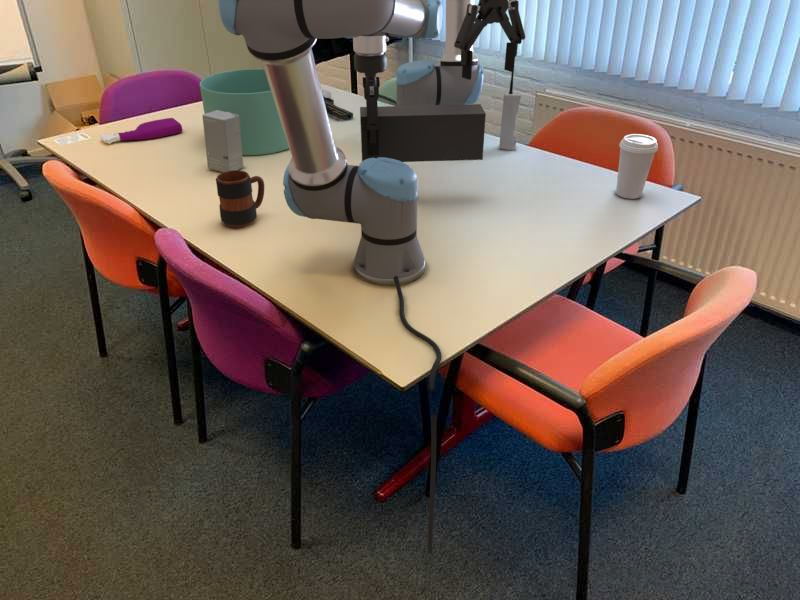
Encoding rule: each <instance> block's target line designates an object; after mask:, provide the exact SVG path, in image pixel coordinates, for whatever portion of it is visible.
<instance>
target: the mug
mask: <svg viewBox="0 0 800 600" xmlns="http://www.w3.org/2000/svg"><path fill="white" fill-rule="evenodd" d="M254 183H257V187H258V188H257V195H256V199H255V201H254V197H253V187H252V186H253V185H252V184H254ZM215 184H216V190H217V191H216V192H217V196H218V198H219V216H220V221H221V223H222V224H223V225H224V226H226V227H229V228H236V229H238V228H240V229H241V228H245V227H249V226H250V225H252V224H254V223H255V221H256V220H257V217H258V215H257V214H258V213H257V209H258V208H260V206H262V203H263V200H264V196H265V182H264V180H263V178H262V177H261V176H259V175H254V176H250V174H249V172H247V171H245V170H240V169H239V170H234V171H227V172H221V173H219V174H218V175H217V176H216V177H215Z"/></svg>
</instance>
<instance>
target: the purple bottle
mask: <svg viewBox="0 0 800 600" xmlns="http://www.w3.org/2000/svg"><path fill="white" fill-rule="evenodd" d="M182 132H183V126H182V123H180V122H179V121H178V120H177V119H175V118H173V117H167V118H160V119H155V120H149V121H146V122H143V123H140V124H139V125H138V126H136V128H135V129H134V130H128V131H124V132H118V133H117V132H115V133H112V134H101V133H100V134H99V137H100V140H102V141H103V143H105V144H110V145H111V144H112V143H114V142H121V141H134V140H140V141H141V140H142V141H145V140H152V139H153V140H154V139H158V138H163V137H168V136H174V135H177V134H180V133H182Z"/></svg>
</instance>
